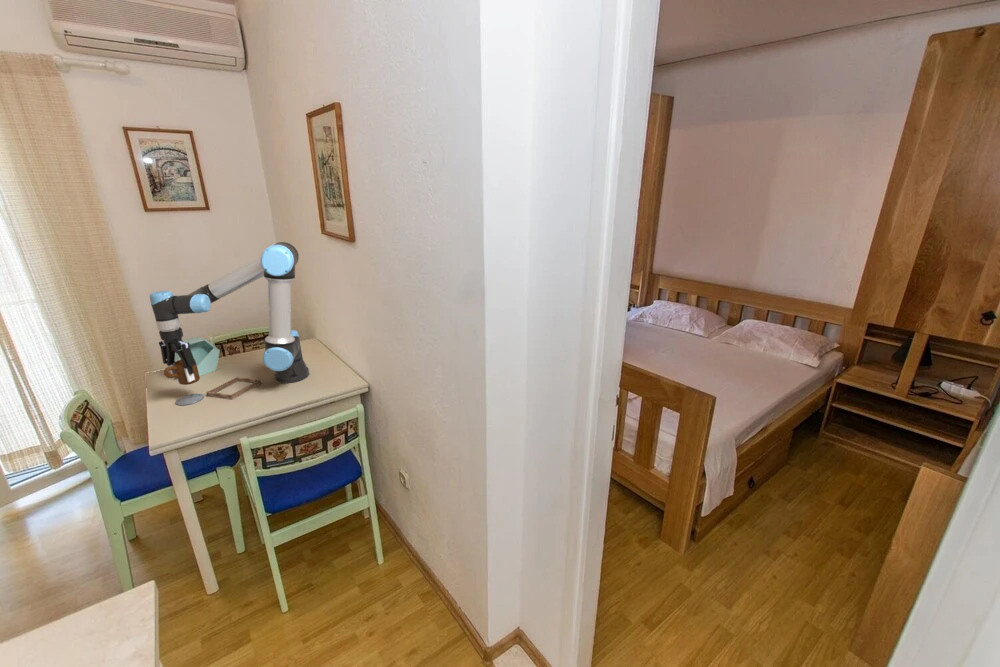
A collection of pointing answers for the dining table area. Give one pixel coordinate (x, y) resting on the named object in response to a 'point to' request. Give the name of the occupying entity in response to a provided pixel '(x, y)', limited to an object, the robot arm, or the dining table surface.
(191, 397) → the coaster
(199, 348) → the planter
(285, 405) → the dining table surface
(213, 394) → the brown wooden frame
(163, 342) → the robot arm
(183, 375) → the mug
